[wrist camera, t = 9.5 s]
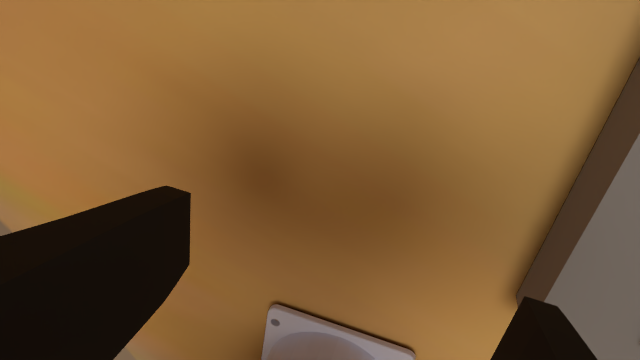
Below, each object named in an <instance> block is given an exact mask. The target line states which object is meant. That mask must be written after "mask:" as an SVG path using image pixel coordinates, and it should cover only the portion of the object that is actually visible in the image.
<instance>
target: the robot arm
mask: <svg viewBox="0 0 640 360" xmlns="http://www.w3.org/2000/svg"><path fill="white" fill-rule="evenodd" d="M190 198H191V193H189V192H186V191H182V190H179V189H176V188H173V187H169V186H163V187H159V188H155V189H151V190H148V191H145V192H141V193H138V194H135V195H132V196H129V197H126V198H123V199H120V200H117V201H114V202H111V203H108V204H105V205H102V206H99V207H96V208H92V209H89V210H86V211H83V212H80V213H77V214H74V215H71V216H68V217H65V218H61V219H58V220H55V221H51V222H48V223H44V224H41V225H38V226H34V227H31V228H27V229H24V230H20V231H17V232H14V233H10V234H7V235H3V236H0V360H113V359H114V358H115V357H116V356H117V354H118V353H119V352H120V351H121V350H122V349H123V348H124V347H125V346H126V344H127V343H128V342H129V341H130V340H131V339H132V338H133V337H134V335H135V334H136V333H137V332H138V331H139V330H140V329H141V328H142V326H143V325H144V324H145V323H146V322H147V321H148V320H149V318H150V317H151V316H152V315H153V314H154V313H155V312H156V310H157V309H158V308H159V307H160V306H161V305H162V303H163V302H164V301H165V300H166V298H167V297H168V295H169V294H170V293H171V291H172V290H173V288H174V287H175V285H176V284H177V282H178V281H179V279H180V278H181V276H182V275H183V273H184V272H185V270H186V269H187V267H188V266H189V260H190ZM275 319H276V320H275ZM277 320H278V321H277ZM415 358H416V356H415V354H414V353H413V352H412V351H411V350H409V349H406V348H403V347H400V346H398V345H395V344H392V343H389V342H386V341H383V340H380V339H377V338H374V337H371V336H368V335H366V334H363V333H360V332H357V331H354V330H351V329H348V328H345V327H342V326H339V325H337V324H334V323H331V322H328V321H325V320H322V319H319V318H316V317H313V316H310V315H308V314H305V313H302V312H299V311H296V310H293V309H290V308H287V307H284V306H281V305H277V304H275V305H272V306H271V307H270V309H269V311H268V315H267V322H266V329H265V336H264V343H263V350H262V357H261V360H415ZM491 360H598V359H597V358H596V357H595V355H594V354H593V353H592V351H591V350H590V349H589V347H588V346H587V344H586V343H585V342H584V340H583V339H582V338H581V336H580V335H579V334H578V332H577V331H576V329H575V328H574V327H573V325H572V324H571V323H570V321H569V320H568V319H567V317H566V316H565V315H564V314H563V312H562V311H561V310H560V309H559V307H558V306H555V305H552V304H549V303H546V302H542V301H539V300H536V299H533V298H529V297H526V296H524V298H523V300H522V302H521V303H520V305H519V307H518V309H517V311H516V313H515V315H514V317H513V319H512V320H511V322H510V324H509V326H508V328H507V330H506V332H505V334H504V335H503V337H502V339H501V341H500V343H499V345H498V347H497V349H496V350H495V352H494V354H493V356H492V358H491Z"/></svg>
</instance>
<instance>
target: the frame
mask: <svg viewBox="0 0 640 360" xmlns="http://www.w3.org/2000/svg"><path fill="white" fill-rule="evenodd" d="M524 296H526V297H529V298H533V299H536V300H539V301H542V302H546V303H549V304H552V305H555V306H558V307H559V309H560V310H561V311H562V312H563V314H564V315H565V316H566V317H567V319H568V320H569V321H570V323H571V324H572V325H573V327H574V328H575V329H576V331H577V332H578V334H579V335H580V336H581V338H582V339H583V340H584V342H585V343H586V344H587V346H588V347H589V349H590V350H591V351H592V353H593V354H594V355H595V357H596V358H597V359H598V360H640V58H639V60H638V62H637V64H636V66H635V68H634V70H633V72H632V74H631V76H630V78H629V79H628V81H627V83H626V85H625V87H624V89H623V91H622V93H621V95H620V97H619V99H618V101H617V103H616V104H615V106H614V108H613V110H612V112H611V114H610V116H609V118H608V120H607V122H606V124H605V126H604V128H603V130H602V131H601V133H600V135H599V137H598V139H597V141H596V143H595V145H594V147H593V149H592V151H591V153H590V155H589V156H588V158H587V160H586V162H585V164H584V166H583V168H582V170H581V172H580V174H579V176H578V178H577V180H576V181H575V183H574V185H573V187H572V189H571V191H570V193H569V195H568V197H567V199H566V201H565V203H564V205H563V206H562V208H561V210H560V212H559V214H558V216H557V218H556V220H555V222H554V224H553V226H552V228H551V230H550V231H549V233H548V235H547V237H546V239H545V241H544V243H543V245H542V247H541V249H540V251H539V253H538V255H537V257H536V258H535V260H534V262H533V264H532V266H531V268H530V270H529V272H528V274H527V276H526V278H525V280H524V282H523V283H522V285H521V287H520V289H519V291H518V293H517V295H516V298H517V304H518V307H519V305H520V303H521V302H522V300H523V298H524Z"/></svg>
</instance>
